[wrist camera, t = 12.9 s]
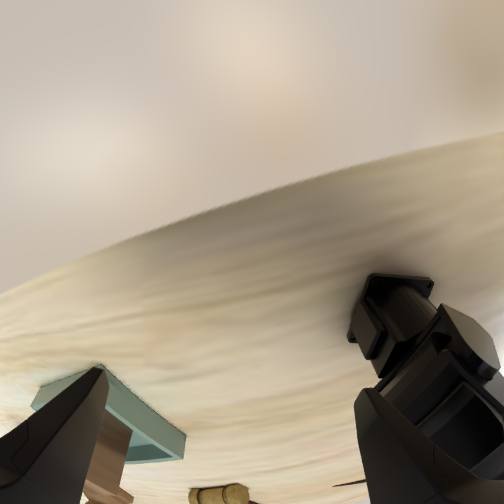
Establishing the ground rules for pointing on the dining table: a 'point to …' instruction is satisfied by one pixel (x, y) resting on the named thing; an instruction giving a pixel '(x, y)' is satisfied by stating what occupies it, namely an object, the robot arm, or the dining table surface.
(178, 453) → the box
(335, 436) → the dining table surface
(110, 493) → the walnut block
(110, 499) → the candle holder
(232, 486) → the gavel
